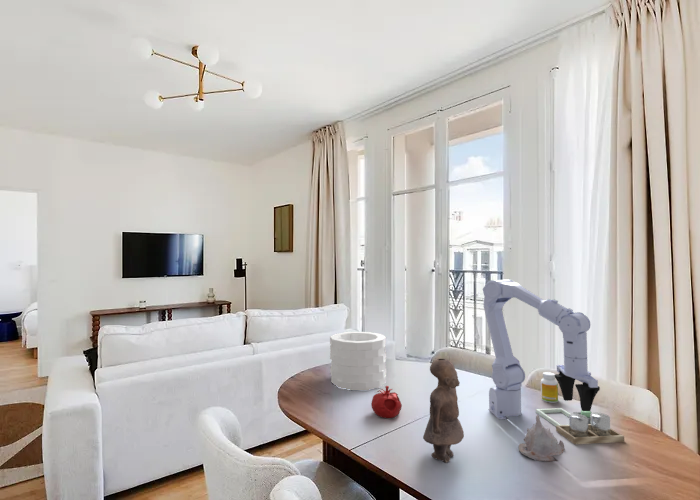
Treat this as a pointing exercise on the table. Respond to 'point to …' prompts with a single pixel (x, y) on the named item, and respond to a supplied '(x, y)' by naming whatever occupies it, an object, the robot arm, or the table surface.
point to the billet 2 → (600, 424)
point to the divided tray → (590, 436)
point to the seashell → (541, 443)
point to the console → (588, 417)
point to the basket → (358, 360)
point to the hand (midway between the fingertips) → (576, 405)
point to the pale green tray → (552, 410)
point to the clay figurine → (444, 411)
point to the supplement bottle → (549, 388)
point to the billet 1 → (578, 425)
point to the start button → (586, 413)
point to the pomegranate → (386, 404)
